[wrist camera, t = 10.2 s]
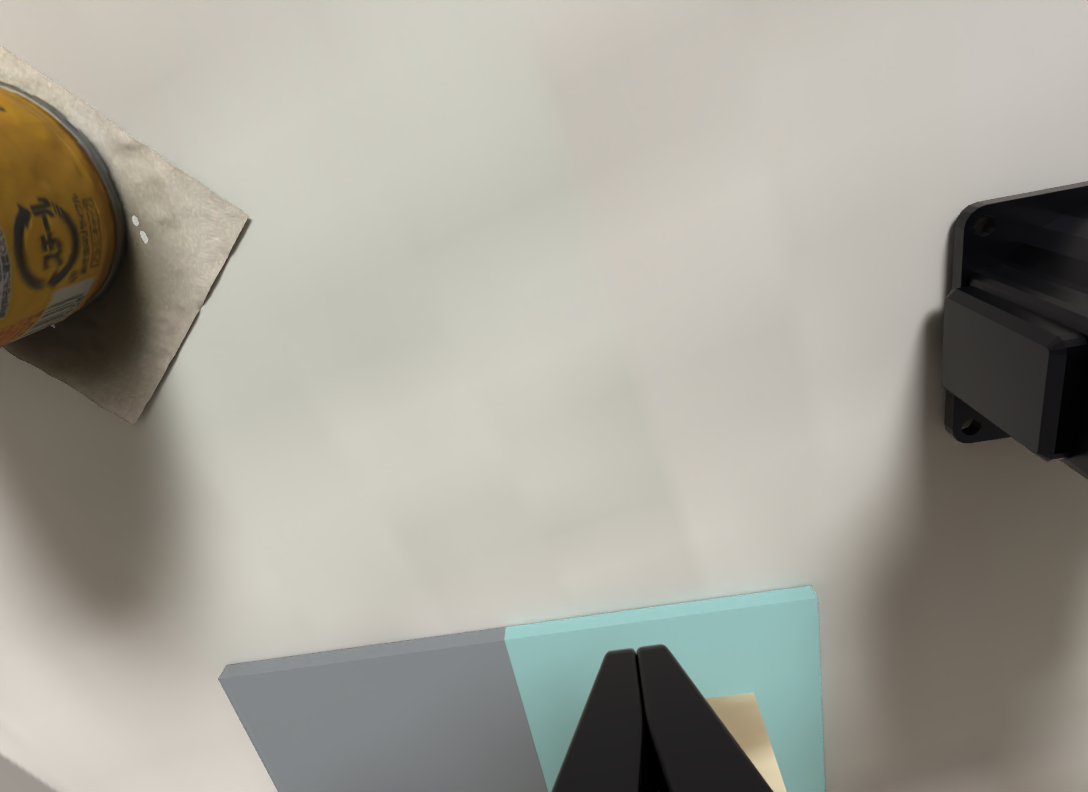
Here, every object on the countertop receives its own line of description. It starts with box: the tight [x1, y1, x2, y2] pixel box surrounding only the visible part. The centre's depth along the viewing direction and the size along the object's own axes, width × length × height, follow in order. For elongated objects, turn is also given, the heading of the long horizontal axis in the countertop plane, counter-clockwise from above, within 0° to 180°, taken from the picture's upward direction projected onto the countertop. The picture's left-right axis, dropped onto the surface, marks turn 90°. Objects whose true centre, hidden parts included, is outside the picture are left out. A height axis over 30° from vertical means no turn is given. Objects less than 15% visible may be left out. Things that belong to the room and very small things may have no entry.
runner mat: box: [218, 585, 825, 792], centre depth 24 cm, size 20×12×1 cm, turn 101°
